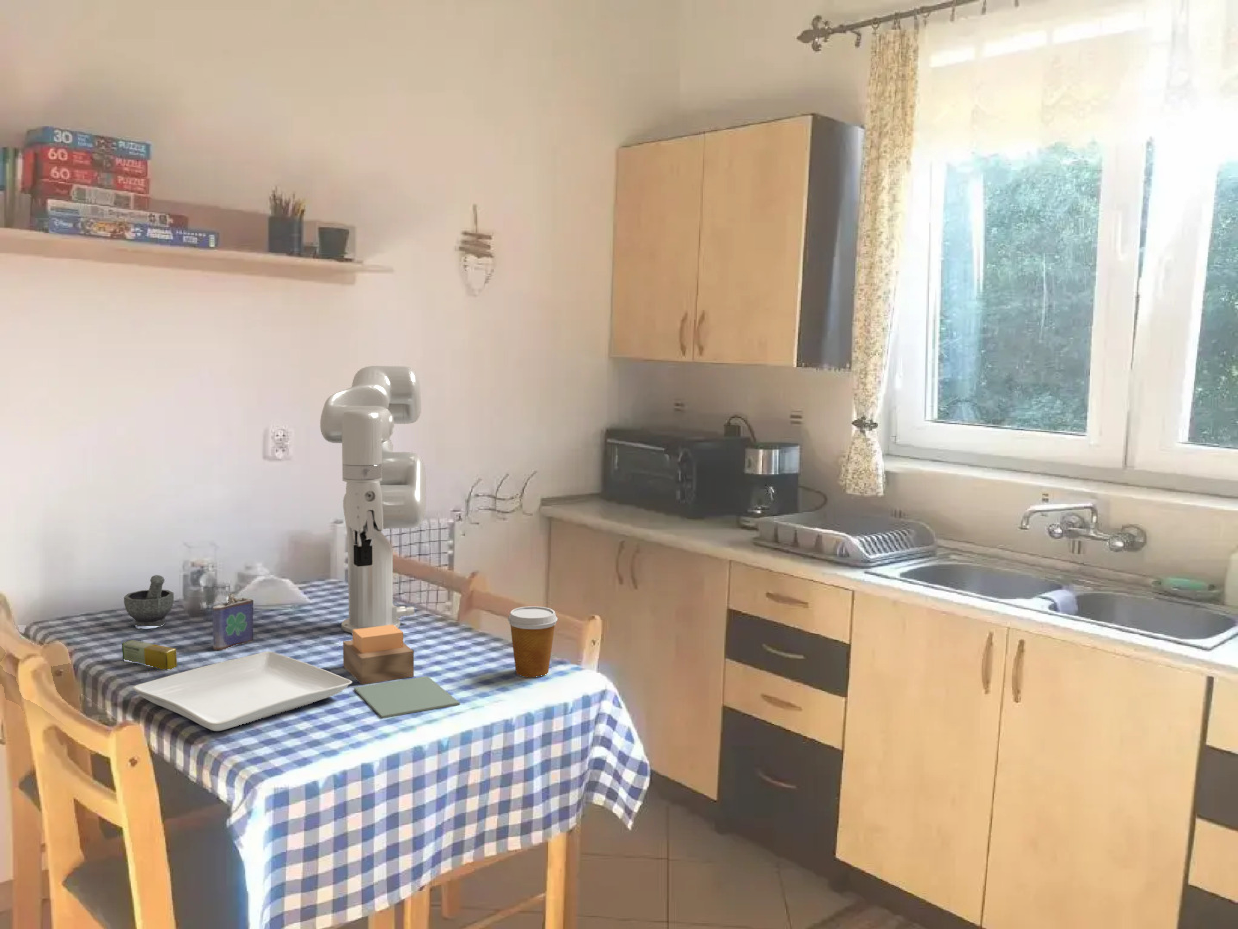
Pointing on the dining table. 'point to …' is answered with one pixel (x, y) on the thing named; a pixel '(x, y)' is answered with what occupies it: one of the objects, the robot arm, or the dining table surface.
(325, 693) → the square plate
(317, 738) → the dining table surface
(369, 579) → the robot arm
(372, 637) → the orange block
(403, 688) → the rubber mat
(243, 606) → the flask
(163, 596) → the mortar and pestle
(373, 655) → the walnut block
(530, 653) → the disposable coffee cup
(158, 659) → the medication box
